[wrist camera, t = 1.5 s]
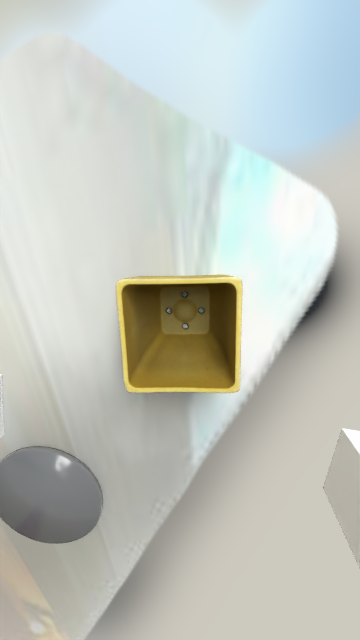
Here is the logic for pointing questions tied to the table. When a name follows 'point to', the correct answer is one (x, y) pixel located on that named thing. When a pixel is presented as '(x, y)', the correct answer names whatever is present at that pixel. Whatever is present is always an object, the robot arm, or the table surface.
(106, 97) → the table surface
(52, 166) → the table surface
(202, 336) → the flower pot
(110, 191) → the table surface
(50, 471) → the disc
